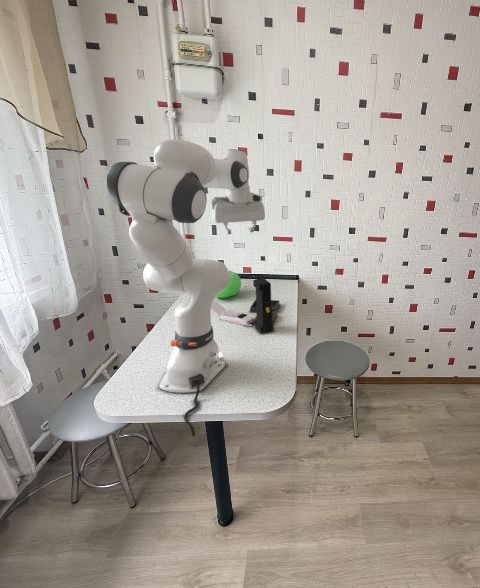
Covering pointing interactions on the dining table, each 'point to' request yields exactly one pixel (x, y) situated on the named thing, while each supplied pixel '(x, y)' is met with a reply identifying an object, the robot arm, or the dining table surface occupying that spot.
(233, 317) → the pale pink bent bar
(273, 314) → the switch block
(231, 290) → the green egg-shaped ball
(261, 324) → the portable radio
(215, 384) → the dining table surface
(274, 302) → the black square tray
